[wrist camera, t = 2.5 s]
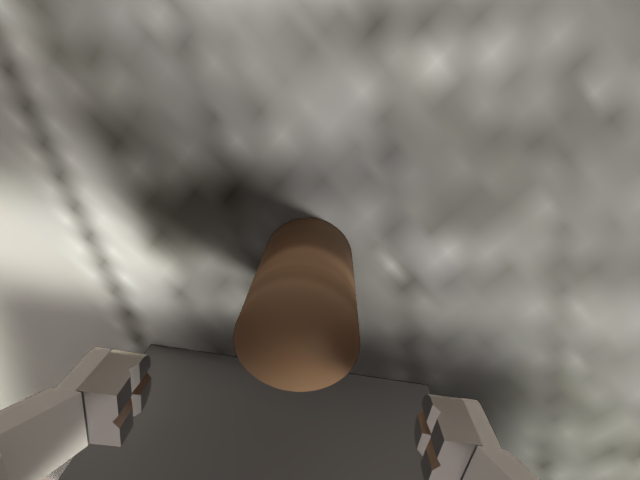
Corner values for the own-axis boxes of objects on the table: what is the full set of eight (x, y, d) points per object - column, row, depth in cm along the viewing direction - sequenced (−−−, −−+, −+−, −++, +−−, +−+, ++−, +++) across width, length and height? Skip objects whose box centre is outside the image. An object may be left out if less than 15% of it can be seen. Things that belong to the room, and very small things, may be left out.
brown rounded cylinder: (270, 211, 16) (237, 280, 11) (359, 225, 16) (372, 301, 11) (261, 287, 18) (229, 382, 12) (343, 300, 18) (347, 399, 12)
